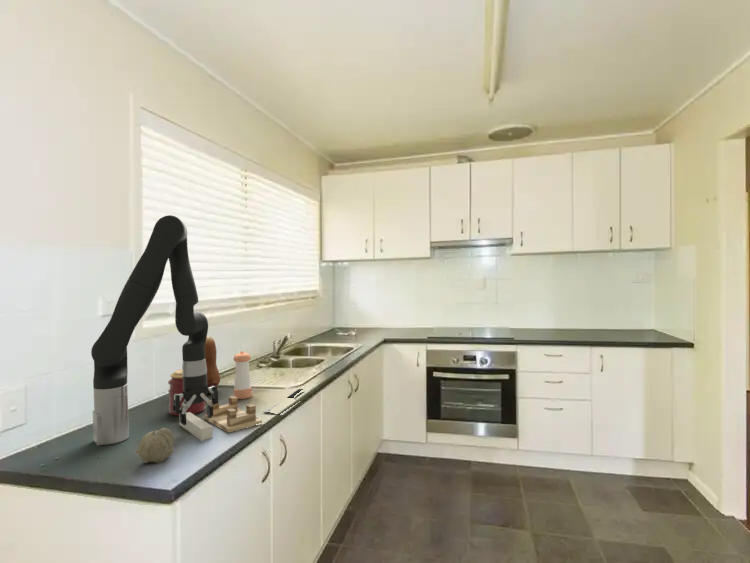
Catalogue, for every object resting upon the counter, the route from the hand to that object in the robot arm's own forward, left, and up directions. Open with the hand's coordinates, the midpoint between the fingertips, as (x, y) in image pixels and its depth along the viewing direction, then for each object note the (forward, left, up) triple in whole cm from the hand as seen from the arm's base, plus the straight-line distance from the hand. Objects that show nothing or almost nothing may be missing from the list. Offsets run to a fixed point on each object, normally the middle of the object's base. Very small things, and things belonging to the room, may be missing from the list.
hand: (197, 421), depth 149 cm
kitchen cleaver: (+39, +5, -4) cm, 40 cm away
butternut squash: (+19, +44, -3) cm, 48 cm away
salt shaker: (+29, +27, -3) cm, 40 cm away
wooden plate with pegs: (+12, 0, -3) cm, 13 cm away
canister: (+5, +24, -3) cm, 24 cm away
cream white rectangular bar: (-1, 0, -3) cm, 3 cm away
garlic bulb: (-18, -16, -3) cm, 25 cm away
